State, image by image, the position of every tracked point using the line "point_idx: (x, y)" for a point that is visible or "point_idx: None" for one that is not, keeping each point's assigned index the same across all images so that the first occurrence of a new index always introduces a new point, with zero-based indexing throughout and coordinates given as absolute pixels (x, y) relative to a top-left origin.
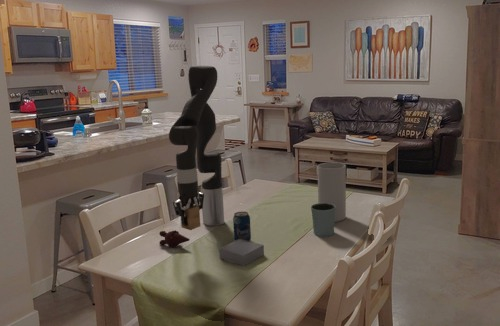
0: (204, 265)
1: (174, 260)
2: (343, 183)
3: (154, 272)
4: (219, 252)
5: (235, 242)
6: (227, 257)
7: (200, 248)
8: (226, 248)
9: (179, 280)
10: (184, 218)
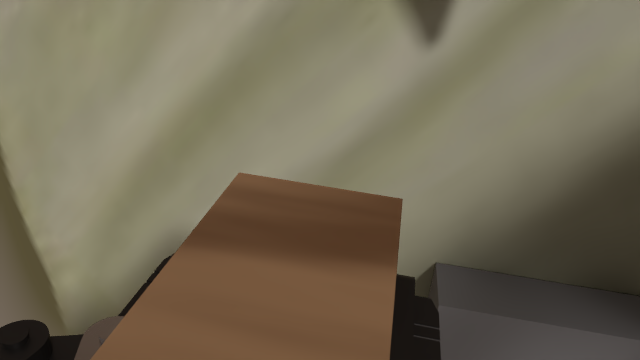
0: None
1: (266, 25)
2: None
3: (78, 40)
4: (437, 286)
5: (583, 348)
6: None
7: (540, 51)
8: (457, 341)
9: (117, 224)
10: None
